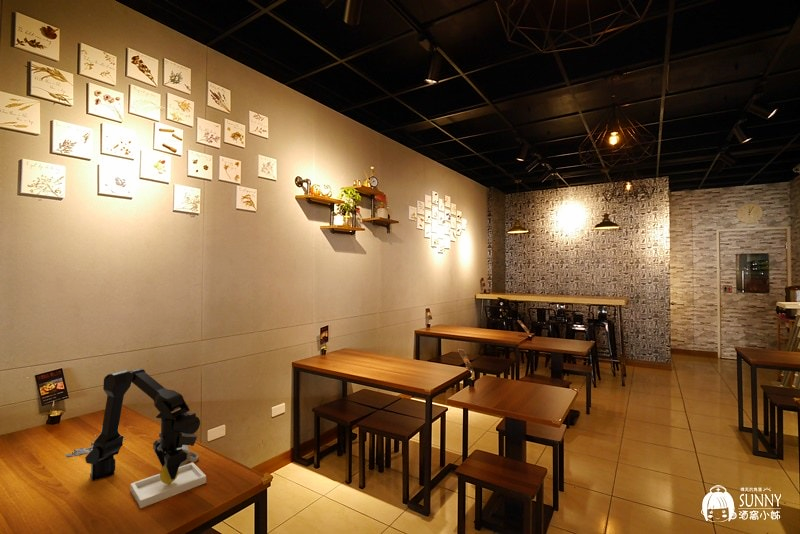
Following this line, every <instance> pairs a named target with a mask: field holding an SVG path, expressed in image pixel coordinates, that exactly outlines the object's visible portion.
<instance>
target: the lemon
mask: <svg viewBox="0 0 800 534" xmlns="http://www.w3.org/2000/svg"><path fill="white" fill-rule="evenodd" d="M159 474H160V479H161V481H162V482H163V483H165V484H168V485H169V484H170V483H172V482H173V481H174V480H175V479H176V478H177V476H178V471H177V474H176V477H175V479H173V480H172V479H171V478H170V475H169V473H168V471H167V468H166V466H165V465H164V466H163V467H162V466H161V470H160V473H159Z"/></svg>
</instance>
